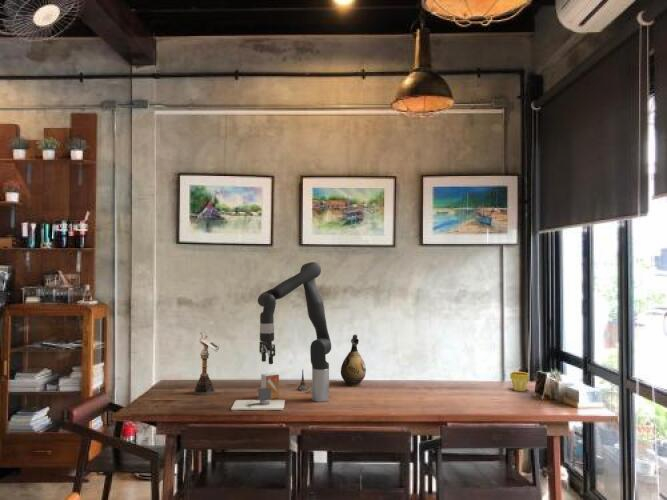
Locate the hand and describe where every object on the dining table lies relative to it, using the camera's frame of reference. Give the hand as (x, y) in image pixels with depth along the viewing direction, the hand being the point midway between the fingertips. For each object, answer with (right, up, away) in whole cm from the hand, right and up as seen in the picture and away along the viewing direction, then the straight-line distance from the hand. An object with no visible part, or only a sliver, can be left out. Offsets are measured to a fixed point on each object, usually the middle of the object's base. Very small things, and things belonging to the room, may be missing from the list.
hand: (267, 362), depth 292 cm
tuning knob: (-4, -21, -3) cm, 21 cm away
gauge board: (-4, -23, -2) cm, 23 cm away
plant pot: (+144, -24, +36) cm, 150 cm away
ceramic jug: (+47, -23, +50) cm, 72 cm away
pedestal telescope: (-37, -23, +28) cm, 52 cm away
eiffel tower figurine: (+17, -24, +35) cm, 45 cm away
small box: (-1, -23, +17) cm, 28 cm away
